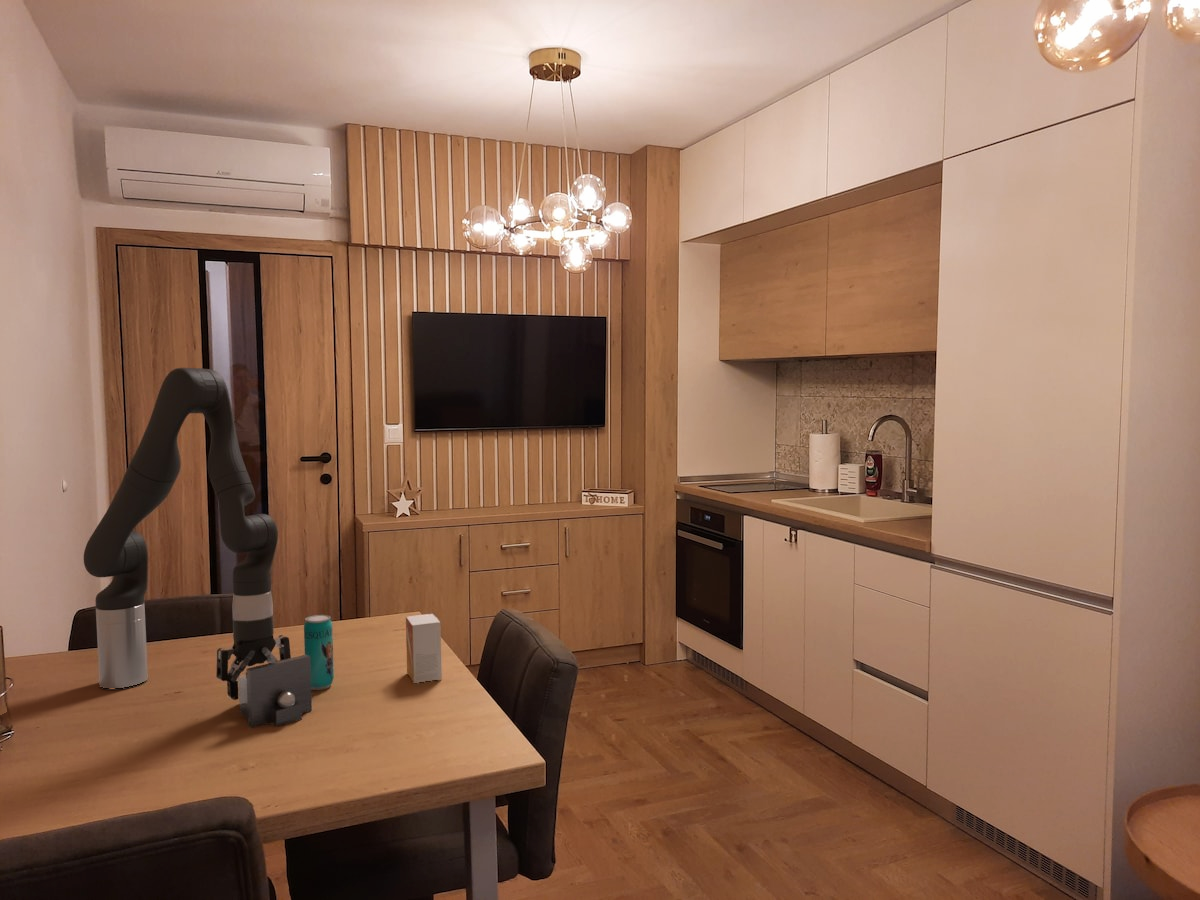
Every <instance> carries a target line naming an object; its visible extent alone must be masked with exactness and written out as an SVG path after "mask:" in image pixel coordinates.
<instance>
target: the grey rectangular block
mask: <svg viewBox="0 0 1200 900" xmlns="http://www.w3.org/2000/svg"><path fill="white" fill-rule="evenodd" d="M237 679H238V701H239V702H238V703H239V704H238V705H239V706H240V704H243V703H246V704H247V679H246V674H242V675H239V677H238V678H237Z"/></svg>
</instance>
